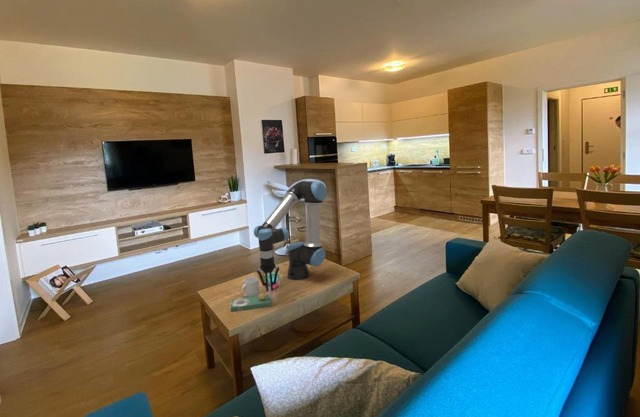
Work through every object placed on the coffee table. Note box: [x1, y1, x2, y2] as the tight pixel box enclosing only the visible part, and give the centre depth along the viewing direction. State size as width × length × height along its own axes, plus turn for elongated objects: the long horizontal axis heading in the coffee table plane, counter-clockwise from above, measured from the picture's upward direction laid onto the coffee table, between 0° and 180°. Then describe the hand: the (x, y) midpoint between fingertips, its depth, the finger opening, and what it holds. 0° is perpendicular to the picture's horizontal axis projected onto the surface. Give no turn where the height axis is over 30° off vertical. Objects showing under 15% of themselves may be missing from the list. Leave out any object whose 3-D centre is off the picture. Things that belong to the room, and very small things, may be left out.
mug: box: [240, 276, 261, 298], centre depth 200 cm, size 9×12×11 cm
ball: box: [259, 292, 265, 300], centre depth 191 cm, size 4×4×4 cm
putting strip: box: [230, 294, 272, 313], centre depth 191 cm, size 22×10×2 cm, turn 100°
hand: (270, 296), depth 192 cm, fingers closed
